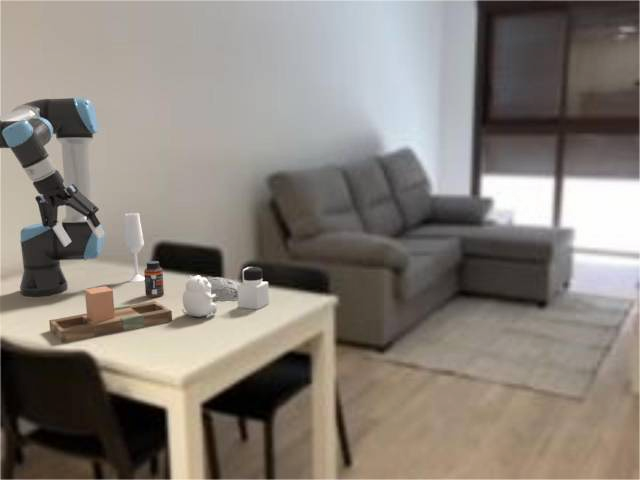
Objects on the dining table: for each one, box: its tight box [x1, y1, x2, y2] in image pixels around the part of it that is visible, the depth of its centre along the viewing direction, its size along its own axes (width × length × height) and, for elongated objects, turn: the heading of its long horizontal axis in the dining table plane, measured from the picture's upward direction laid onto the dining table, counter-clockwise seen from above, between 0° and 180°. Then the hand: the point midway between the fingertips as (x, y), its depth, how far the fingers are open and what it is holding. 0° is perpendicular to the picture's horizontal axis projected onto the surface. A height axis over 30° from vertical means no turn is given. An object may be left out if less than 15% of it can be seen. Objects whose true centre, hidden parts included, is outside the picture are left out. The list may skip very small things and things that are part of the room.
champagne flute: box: [124, 212, 145, 283], centre depth 248 cm, size 7×7×24 cm
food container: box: [206, 276, 241, 303], centre depth 229 cm, size 16×25×7 cm, turn 47°
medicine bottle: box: [237, 266, 270, 310], centre depth 214 cm, size 7×7×12 cm
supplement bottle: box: [143, 260, 165, 298], centre depth 228 cm, size 6×6×11 cm
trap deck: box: [49, 300, 173, 344], centre depth 197 cm, size 13×31×3 cm, turn 125°
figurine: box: [181, 274, 218, 318], centre depth 204 cm, size 10×10×12 cm
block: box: [84, 285, 115, 322], centre depth 194 cm, size 6×6×8 cm
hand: (84, 240), depth 197 cm, fingers open, 13 cm apart
